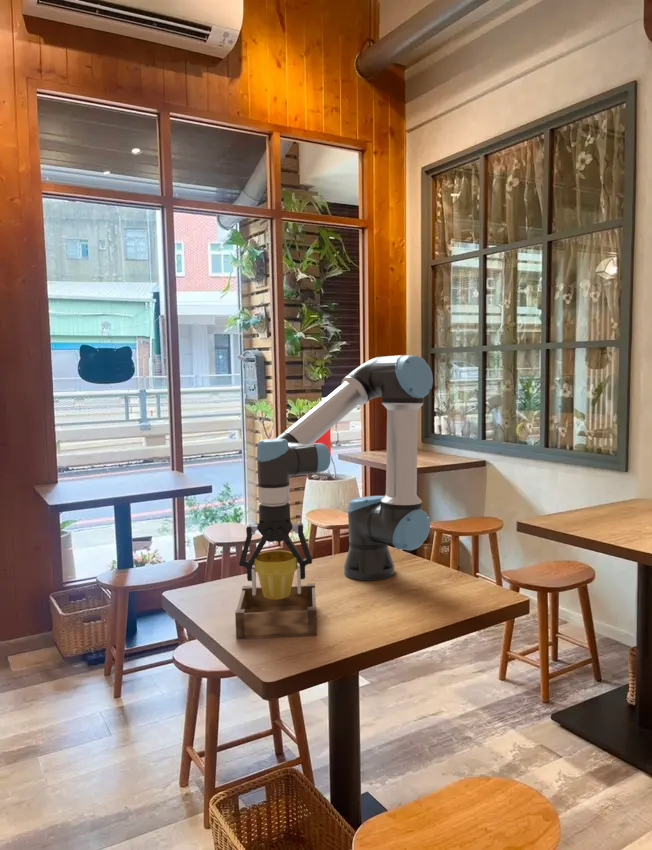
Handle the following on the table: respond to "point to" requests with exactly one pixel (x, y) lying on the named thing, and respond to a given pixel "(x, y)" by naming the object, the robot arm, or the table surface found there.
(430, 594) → the table surface
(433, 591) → the table surface
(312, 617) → the walnut crate
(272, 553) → the plant pot
